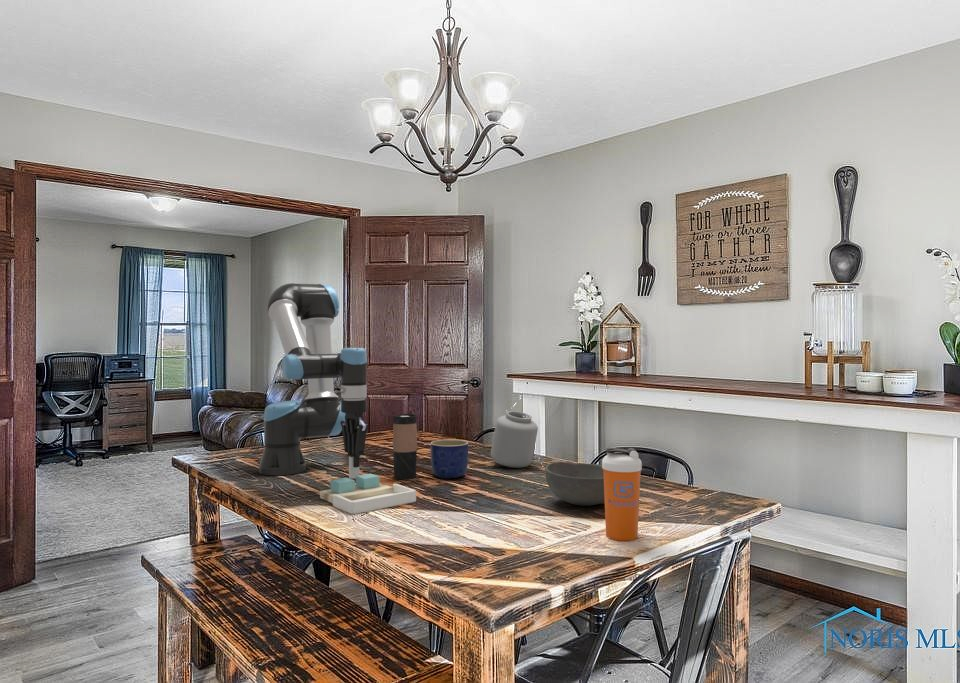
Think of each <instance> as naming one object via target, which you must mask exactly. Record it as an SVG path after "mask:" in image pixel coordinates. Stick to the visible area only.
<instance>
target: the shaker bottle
mask: <svg viewBox="0 0 960 683" xmlns="http://www.w3.org/2000/svg"><path fill="white" fill-rule="evenodd" d="M604 450H605V451H606V455H605V456H604V457H603V458H602V461H601V465H602V469H603V478H604V500H605V502H604V516H605V517H604V519H605V535H606V537H607V538H609V539H611V540H614V541H618V542H619V541H623V542H628V541H634V540H636V539H638V535H639V534H638V533H639V516H640V515H639V512H640V510H639V508H640V495H641V472H642V470H643V463H642V460H641V458H639V452H637V450H636V449H635V448H633V447H630V448H627V449H626V448H625V449H624V448H618V447H617V448H616V447H608V448H605V449H604Z"/></svg>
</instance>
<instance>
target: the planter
mask: <svg viewBox="0 0 960 683" xmlns="http://www.w3.org/2000/svg"><path fill="white" fill-rule="evenodd" d="M429 444H430V463H431V471H432V473H433V475H434V476H436V477H437V478H442V479H456V478H461V477H464V475H465V474H466V473H467V470H468V461H469V442H468V441H467V440H463V439H438V440H433V441H431V442H430V443H429Z"/></svg>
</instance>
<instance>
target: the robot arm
mask: <svg viewBox="0 0 960 683" xmlns="http://www.w3.org/2000/svg"><path fill="white" fill-rule="evenodd" d="M266 304H267V305H266V307H267V309H266V310H267V314H268V317H269V318H270V320H271V321H272V322H274V325H275V328H276V330H277V333H278V337H279V339H280V342H281V346H282V348H283V351H284V356H283V357H282V360H281V371H282V372H281V373H282V376H283V377H284V379H287V380H296V381H297V380H307V381H308V382H307V385H308V386H307V387H308V388H307V389H308V394H307V396H306V397H305V398H304V403H302V404H301V401H300V400H299V399H297V400H296V399H295V400H294V399H293V400H285V401H284V400H283V401H278V402H274V403H273V402H272V403H270V404H268V405H267V406H266V407H265V408H264V415H263V422H264V423H263V425H264V427H263V428H264V429H263V430H264V431H263V432H264V435H263V436H264V438H263V439H264V442H263V443H264V450H263V452H262V455H261V458H260V461H259V465H258V473H259V474H261V475H264V476H265V475H266V476H286V475H288V476H289V475H295V474H300V473H303V472H305V471H306V470H307V468H306V467H307V464H306V460H305V457H304V454H303V450H302V448H301V439H311V438H323V437H326V438H327V437H332V436H333V437H334V436H338V435H340V433H341V432H342V440H343V446H344V447H343V448H344V453H345V454H346V453H347V456H348V478H350V479H352V480H354V479H356V476H358V475H360V457H361V456H363V455H364V454H365V447H366V437H367V431H368V429H369V424H368V423H365V422H364V415H363V413H366V412H367V411H368V410H367V409H368V408H367V404H368V403H367V402H368V400H366V399H367V396H368V394H367V392H368V390H367V363H368V358H367V349H365V348H364V347H343V348H342V349H341V350H340V352H338V353H332V351H333V350H332V336H331V335H332V333H331V325H332V324H333V323H334V322H335V318H336V317H338V315H339V312H340V302H339V297H338V293H337V291H336V289H335V288H334V287H333V286H332V285H329V284H322V283H294V282H293V283H286V284H283V285H280V286H279V287H277V288H276V289H275V290H274V291H273V292H272V293H271V295H270V296H269V298H268V301H267V303H266ZM299 318H300V320H299ZM301 324H302V325H303V326H304V328H305V334H304V331H303V328H302V325H301ZM337 378H338V379H339V378H340V385H341V386H340V387H341V388H340V394H341V399H342V400H341V401H340V398H339V397H340V396H338V395H337V394H336V393H335V386H334V379H337Z"/></svg>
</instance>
